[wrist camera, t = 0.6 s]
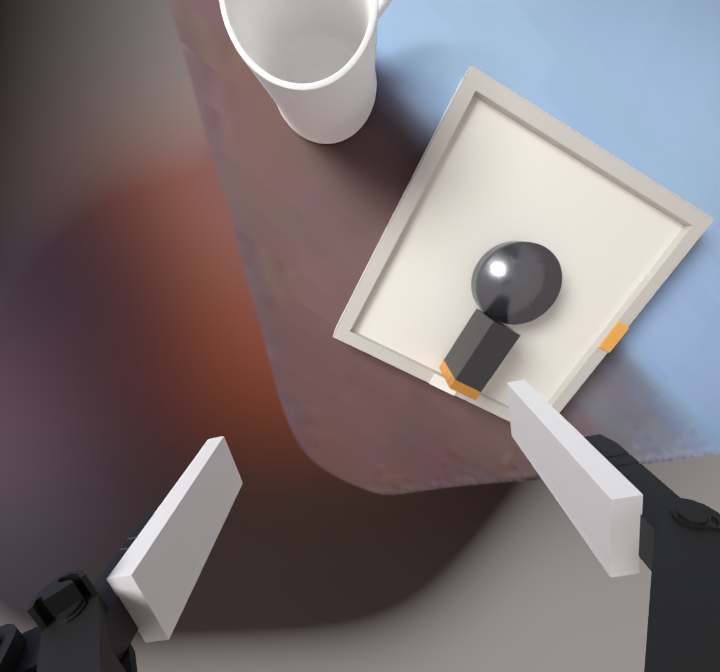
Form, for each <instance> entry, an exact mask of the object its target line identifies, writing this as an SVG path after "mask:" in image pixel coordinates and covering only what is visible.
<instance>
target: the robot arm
mask: <svg viewBox="0 0 720 672" xmlns="http://www.w3.org/2000/svg"><path fill="white" fill-rule="evenodd" d="M507 391H508V401H509V411H510V422H511V432H512V437H513V438H514V440H515V441H516V442H517V444H518V445H519V447H520V448H521V450H522V451H523V452H524V454H525V455H526V457H527V458H528V460H529V461H530V463H531V464H532V465H533V467H534V468H535V470H536V471H537V473H538V474H539V475H540V477H541V478H542V480H543V481H544V483H545V484H546V486H547V487H548V488H549V490H550V491H551V493H552V494H553V495H554V497H555V498H556V500H557V501H558V503H559V504H560V506H561V507H562V508H563V510H564V511H565V513H566V514H567V515H568V517H569V519H570V520H571V521H572V523H573V524H574V526H575V527H576V529H577V530H578V531H579V533H580V534H581V536H582V537H583V539H584V540H585V542H586V543H587V544H588V546H589V547H590V549H591V550H592V552H593V553H594V554H595V556H596V557H597V559H598V560H599V562H600V563H601V565H602V566H603V567H604V569H605V570H606V572H607V573H608V575H609V576H610V577H611V578H612V577H619V576H626V575H633V574H639V572H640V571H639V570H640V558H641V559H642V560H643V562H644V563H645V564H646V565H647V566H648V568H649V569H650V570H651V571H652V577H651V589H650V603H649V617H648V630H647V644H646V657H645V670H644V672H720V514H719V513H718V512H716V511H714V510H713V509H711V508H709V507H708V506H706V505H704V504H701V503H698V502H696V501H693V500H689V499H683V498H680V497H679V496H677V495H676V494H675V493H674V492H673V491H672V490H671V489H669V488H668V487H667V486H666V485H665V484H664V483H662V482H661V481H660V480H659V479H658V478H657V477H656V476H654V475H653V474H652V473H651V472H650V471H649V470H648V469H646V468H645V467H644V466H643V465H642V464H639V462H638V461H637V460H636V459H635V458H634V457H633V456H631V455H629V453H628V452H627V451H626V450H624V449H623V448H622V447H621V446H620V445H619V444H618V443H616V442H614V441H612V440H610V439H608V438H606V437H604V436H602V435H600V434H599V435H593V436H587V437H583V436H582V435H581V434H580V433H579V432H578V431H577V430H576V429H575V428H574V427H573V426H572V425H571V424H570V423H569V422H568V421H567V420H566V419H565V418H564V417H563V416H562V415H561V414H559V413H558V412H557V411H556V410H555V409H554V408H553V407H552V406H551V405H550V404H549V403H548V402H547V401H546V400H545V399H544V398H543V397H542V396H541V395H540V394H539V393H538V392H537V391H536V390H535V389H534V388H533V387H532V386H531V385H530V384H529V383H528V382H527V381H526V380H519V381H514V382H509V383H507ZM241 486H242V480H241V478H240V475H239V473H238V470H237V468H236V465H235V463H234V460H233V458H232V455H231V453H230V450H229V448H228V445H227V443H226V440H225V438H224V436H222V437H217V438H212V439H208V440H207V442H206V443H205V445H204V446H203V447H202V449H201V450H200V451H199V453H198V454H197V455H196V457H195V458H194V460H193V461H192V462H191V464H190V465H189V466H188V468H187V469H186V471H185V472H184V473H183V475H182V476H181V478H180V479H179V480H178V482H177V483H176V484H175V486H174V487H173V489H172V490H171V491H170V493H169V494H168V495H167V497H166V498H165V499H164V501H163V502H162V504H161V505H160V506H159V508H158V509H157V510H156V512H153V513H150V514H149V515H148V516H147V517H146V518H145V519H144V520H143V521H141V523H140V524H138V525H137V527H136V528H135V530H134V531H133V532H132V533H131V535H130V536H129V537H128V540H126V541H125V542H124V544H123V545H122V547H121V548H120V551H118V552H117V553H116V554H115V556H114V557H113V558H112V560H111V561H110V562H109V564H108V565H107V566H106V568H105V569H104V570H103V572H102V573H101V574H100V576H99V577H98V578H97V580H96V581H95V582H94V584H92V583H91V581H90V580H89V578H88V577H87V575H86V573H85V572H84V570H79V569H76V570H72V571H69V572H67V573H65V574H63V575H61V576H59V577H57V578H56V579H55V580H54V581H52V582H50V583H49V584H47V585H46V586H45V587H44V588H43V589H42V590H41V591H40V592H39V593H38V594H37V595H36V597H35V598H34V599H33V600H32V601H31V603H30V605H29V607H28V609H27V612H28V613H29V614H30V616H31V617H32V618H33V619H34V621H35V622H36V623H37V625H38V627H35V628H33V629H31V630H29V631H26V632H24V633H22V634H21V632H20V631H19V630H18V629H17V627H16V626H15V625H14V624H5V625H3V626H0V672H137V665H136V657H135V651H134V649H133V647H132V645H131V641H132V639H133V637H134V636H135V634H136V632H137V630H138V631H139V632H140V634H141V636H142V637H143V639H144V640H145V642H154V641H161V640H168V639H169V638H170V636H171V634H172V632H173V630H174V628H175V625H176V623H177V621H178V619H179V617H180V615H181V613H182V611H183V608H184V606H185V604H186V602H187V600H188V598H189V596H190V594H191V591H192V589H193V587H194V585H195V583H196V581H197V579H198V576H199V575H200V572H201V570H202V568H203V566H204V564H205V562H206V560H207V558H208V555H209V553H210V551H211V549H212V547H213V545H214V543H215V540H216V538H217V536H218V534H219V532H220V530H221V528H222V526H223V523H224V522H225V519H226V517H227V515H228V513H229V511H230V508H231V507H232V505H233V502H234V500H235V498H236V496H237V494H238V492H239V490H240V488H241Z"/></svg>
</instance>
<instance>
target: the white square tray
mask: <svg viewBox="0 0 720 672" xmlns="http://www.w3.org/2000/svg"><path fill="white" fill-rule="evenodd" d="M713 220H714V219H713V218H712V217H710V216H709V215H707V214H706V213H704V212H702V211H701V210H699V209H698V208H696V207H695V206H693V205H691V204H690V203H688V202H687V201H685V200H683V199H682V198H680V197H679V196H677V195H676V194H674V193H672V192H671V191H669V190H668V189H666V188H665V187H663V186H661V185H660V184H658V183H657V182H655V181H653V180H652V179H650V178H649V177H647V176H646V175H644V174H642V173H641V172H639V171H638V170H636V169H635V168H633V167H631V166H630V165H628V164H627V163H625V162H623V161H622V160H620V159H619V158H617V157H616V156H614V155H612V154H611V153H609V152H608V151H606V150H604V149H603V148H601V147H600V146H598V145H597V144H595V143H593V142H592V141H590V140H589V139H587V138H586V137H584V136H582V135H581V134H579V133H578V132H576V131H574V130H573V129H571V128H570V127H568V126H567V125H565V124H563V123H562V122H560V121H559V120H557V119H556V118H554V117H552V116H551V115H549V114H548V113H546V112H544V111H543V110H541V109H540V108H538V107H537V106H535V105H533V104H532V103H530V102H529V101H527V100H525V99H524V98H522V97H521V96H519V95H518V94H516V93H514V92H513V91H511V90H510V89H508V88H507V87H505V86H503V85H502V84H500V83H499V82H497V81H495V80H494V79H492V78H491V77H489V76H488V75H486V74H484V73H483V72H481V71H480V70H478V69H477V68H475V67H473V66H472V65H471V66H470V67H469V69H468V70H467V72H466V73H465V75H464V76H463V78H462V79H461V81H460V83H459V85H458V87H457V89H456V91H455V93H454V95H453V97H452V98H451V100H450V102H449V104H448V106H447V108H446V110H445V112H444V114H443V116H442V118H441V120H440V122H439V124H438V126H437V128H436V130H435V132H434V134H433V136H432V138H431V140H430V142H429V144H428V146H427V148H426V150H425V152H424V154H423V156H422V158H421V160H420V162H419V164H418V166H417V168H416V170H415V172H414V174H413V175H412V177H411V179H410V181H409V183H408V185H407V187H406V189H405V191H404V193H403V195H402V197H401V199H400V201H399V203H398V205H397V207H396V209H395V211H394V213H393V215H392V217H391V219H390V221H389V223H388V225H387V227H386V229H385V231H384V233H383V235H382V237H381V239H380V241H379V243H378V245H377V247H376V249H375V251H374V252H373V254H372V256H371V258H370V260H369V262H368V264H367V266H366V268H365V270H364V272H363V274H362V276H361V278H360V280H359V282H358V284H357V286H356V288H355V290H354V292H353V294H352V296H351V298H350V300H349V302H348V304H347V306H346V308H345V310H344V312H343V314H342V316H341V318H340V320H339V322H338V324H337V326H336V327H335V331H334V334H333V337H334V338H336V339H338V340H340V341H343V342H345V343H347V344H349V345H351V346H353V347H355V348H357V349H359V350H361V351H363V352H366V353H368V354H370V355H372V356H374V357H376V358H378V359H380V360H382V361H384V362H386V363H388V364H391V365H393V366H395V367H397V368H399V369H401V370H403V371H405V372H407V373H409V374H411V375H413V376H416V377H418V378H420V379H422V380H424V381H426V382H428V383H430V384H431V385H433V386H435V387H437V388H439V389H441V390H443V391H445V392H447V393H450V394H452V395H455V396H457V397H459V398H461V399H464V400H466V401H468V402H470V403H472V404H474V405H476V406H478V407H480V408H482V409H484V410H486V411H489V412H491V413H493V414H495V415H497V416H499V417H501V418H503V419H505V420H507V421H509V422H510V411H509V401H508V391H507V383H509V382H514V381H519V380H526V381H527V382H528V383H529V384H530V385H531V386H532V387H533V388H534V389H535V390H536V391H537V392H538V393H539V394H540V395H541V396H542V397H543V398H544V399H545V400H546V401H547V402H548V403H549V404H550V405H551V406H552V407H553V408H554V409H555V410H556V411H557V412H558V413H560V412H561V410H562V409H563V408H564V407H565V405H566V404H567V403H568V402H569V400H570V399H571V398H572V397H573V395H574V394H575V393H576V392H577V390H578V389H579V388H580V387H581V385H582V384H583V383H584V382H585V380H586V379H587V378H588V377H589V375H590V374H591V373H592V372H593V370H594V369H595V368H596V367H597V365H598V364H599V363H600V362H601V360H602V359H603V358H604V357H605V355H606V354H607V353H608V352H609V353H610V352H611V350H612V349H613V348H614V347H615V345H616V344H617V343H618V342H619V340H620V339H621V338H622V337H623V335H624V334H625V333H626V332H627V330H628V329H629V328H630V327H629V325H630V324H631V323H632V322H633V320H634V319H635V318H636V317H637V315H638V314H639V313H640V312H641V310H642V309H643V308H644V307H645V305H646V304H647V303H648V302H649V300H650V299H651V298H652V296H653V295H654V294H655V293H656V291H657V290H658V289H659V288H660V286H661V285H662V284H663V283H664V281H665V280H666V279H667V278H668V276H669V275H670V274H671V273H672V271H673V270H674V269H675V268H676V266H677V265H678V264H679V263H680V261H681V260H682V259H683V258H684V256H685V255H686V254H687V253H688V251H689V250H690V249H691V248H692V246H693V245H694V244H695V243H696V241H697V240H698V239H699V238H700V236H701V235H702V234H703V233H704V231H705V230H706V229H707V228H708V226H709V225H710V224H711V223H712V221H713ZM508 241H524V242H532V243H537V244H540V245H542V246H544V247H546V248H548V249H549V250H550V251H551V252H552V253H553V254H554V255H555V256H556V258H557V259H558V261H559V263H560V266H561V270H562V285H561V289H560V292H559V295H558V297H557V299H556V300H555V302H554V304H553V305H552V306H551V307H550V308H549V309H548V310H547V311H546V312H545V313H544V314H543V315H542V316H540V317H538V318H537V319H535V320H533V321H530V322H527V323H524V324H517V325H511V324H505V323H504V324H505V325H507V326H508V327H510V328H511V329H512V330H514V331H515V332H516V333H518V334H519V335H521V336H520V337H519V338H518V340H517V341H516V343H515V344H514V346H513V347H512V348H511V350H510V351H509V353H508V354H507V356H506V357H505V358H504V360H503V361H502V363H501V364H500V366H499V367H498V369H497V370H496V371H495V373H494V374H493V376H492V377H491V379H490V380H489V381H488V383H487V384H486V386H485V387H484V389H483V390H482V391H481V393H480V394H479V396H478V397H477V399H476V400H473V399H471V398H469V397H467V396H465V395H463V394H461V393H459V392H457V391H454V390H452V389H450V388H449V386H448V384H447V382H446V380H445V378H444V376H443V374H442V372H441V370H440V368H439V367H440V365H441V364H442V362H443V360H444V359H445V357H446V356H447V354H448V353H449V351H450V349H451V348H452V346H453V345H454V343H455V342H456V340H457V338H458V337H459V335H460V334H461V332H462V331H463V329H464V327H465V326H466V324H467V323H468V321H469V320H470V318H471V316H472V315H473V313H474V312H475V310H476V309H479V310H481V309H480V307H479V306H478V305H477V304H476V302H475V300H474V298H473V295H472V290H471V279H472V275H473V271H474V269H475V267H476V265H477V263H478V262H479V260H480V259H481V258H482V256H483V255H484V254H485V253H486V252H487V251H489V250H490V249H492V248H493V247H495V246H497V245H499V244H501V243H504V242H508ZM481 311H483V310H481ZM483 312H484V311H483Z"/></svg>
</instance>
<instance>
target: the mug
mask: <svg viewBox="0 0 720 672" xmlns="http://www.w3.org/2000/svg"><path fill="white" fill-rule="evenodd" d="M219 2H220V8H221V12H222V16H223V20H224V23H225V26H226V29H227V31H228V34H229V36H230V38H231V40H232V42H233V44H234V46H235V48H236V49H237V51H238V52H239V54H240V55H241V57H242V58H243V60H244V61H245V62H246V64H247V65H248V66H249V68H250V69H251V70H252V72H253V73H254V74H255V76H256V77H257V78H258V80H259V81H260V82H261V84H262V85H263V86H264V88H265V89H266V90H267V92H268V93H269V94H270V96H271V97H272V98H273V100H274V101H275V102H276V104H277V106H278V108H279V110H280V112H281V114H282V116H283V118H284V119H285V121H286V122H287V124H288V125H289V126H290V127H291V128H292V129H293V130H294V131H295V132H296V133H297V134H299V135H300V136H302V137H303V138H305V139H307V140H309V141H312V142H316V143H321V144H332V143H337V142H341V141H343V140H346V139H348V138H349V137H351V136H352V135H354V134H355V133H356V132H357V131H358V130H359V129H360V128H361V127H362V126H363V125H364V123H365V122H366V120H367V119H368V117H369V115H370V113H371V111H372V108H373V105H374V102H375V97H376V89H377V79H376V71H375V57H376V41H377V24H378V19H379V18H380V17H381V15H382V14H383V12H384V11H385V10H386V8H387V7H388V5H389V4H390V2H391V0H219Z"/></svg>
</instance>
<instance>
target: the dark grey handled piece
mask: <svg viewBox="0 0 720 672" xmlns="http://www.w3.org/2000/svg"><path fill="white" fill-rule="evenodd" d="M561 285H562V270H561V266H560V263H559V261H558V259H557V258H556V256H555V255H554V254H553V253H552V252H551V251H550V250H549V249H548V248H546V247H544V246H542V245H540V244H537V243H532V242H524V241H508V242H504V243H501V244H499V245H497V246H495V247H493V248H492V249H490V250H489V251H487V252H486V253H485V254H484V255H483V256H482V258H481V259H480V260H479V262H478V263H477V265H476V267H475V269H474V271H473V275H472V279H471V290H472V295H473V298H474V300H475V302H476V304H477V305H478V306H479V307H480V309H481V310H483V311H484V312H483V311H481V310H479V309H476V310H475V312H474V313H473V315H472V316H471V318H470V320H469V321H468V323H467V324H466V326H465V327H464V329H463V331H462V332H461V334H460V335H459V337H458V338H457V340H456V342H455V343H454V345H453V346H452V348H451V349H450V351H449V353H448V354H447V356H446V357H445V359H444V360H443V362H442V364H441V365H440V367H439V368H440V370H441V372H442V374H443V376H444V378H445V380H446V382H447V384H448V386H449V388H450V389H452V390H454V391H457V392H459V393H461V394H463V395H465V396H467V397H469V398H471V399H473V400H476V399H477V397H478V396H479V394H480V393H481V391H482V390H483V389H484V387H485V386H486V384H487V383H488V381H489V380H490V379H491V377H492V376H493V374H494V373H495V371H496V370H497V369H498V367H499V366H500V364H501V363H502V361H503V360H504V358H505V357H506V356H507V354H508V353H509V351H510V350H511V348H512V347H513V346H514V344H515V343H516V341H517V340H518V338H519V337H520V336H521V335H519V334H518V333H516V332H515V331H514V330H512V329H511V328H510V327H508V326H507V325H505V324H511V325H517V324H524V323H527V322H530V321H533V320H535V319H537V318H538V317H540V316H542V315H543V314H544V313H545V312H546V311H547V310H548V309H549V308H550V307H551V306H552V305H553V304H554V302H555V300H556V299H557V297H558V295H559V292H560V289H561ZM504 323H505V324H504Z"/></svg>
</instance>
